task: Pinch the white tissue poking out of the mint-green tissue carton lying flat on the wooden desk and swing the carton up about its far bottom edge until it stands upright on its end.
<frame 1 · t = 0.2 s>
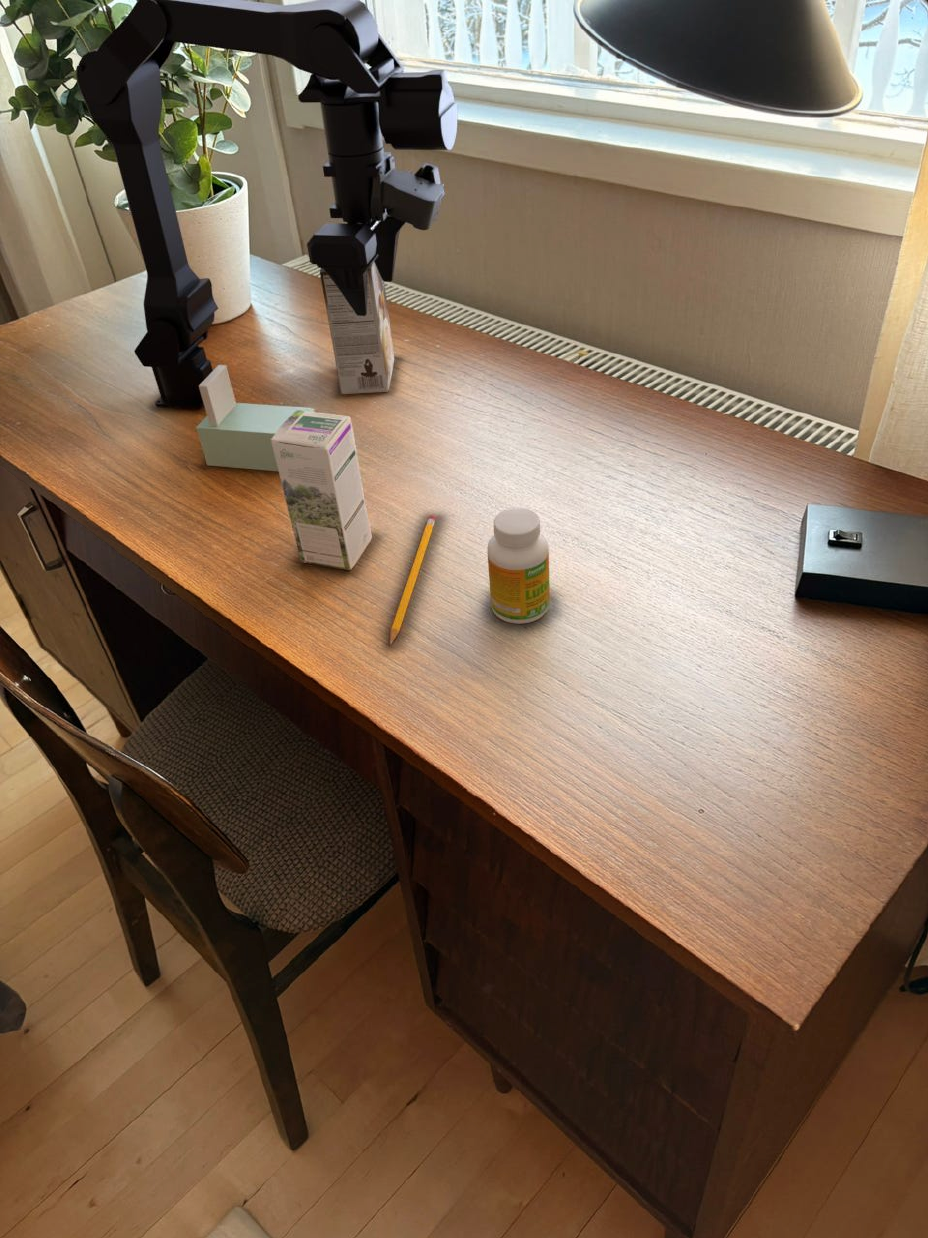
hand: (375, 297, 106), 14 cm above the table, tool pointing down, fingers open, 9 cm apart
coffee box: (368, 378, 123), on the table
pencil: (413, 580, 91), on the table
supplement bottle: (520, 607, 87), on the table
syrup box: (337, 553, 95), on the table
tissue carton: (255, 417, 107), point 5 cm above the table, hinge at 0.0°
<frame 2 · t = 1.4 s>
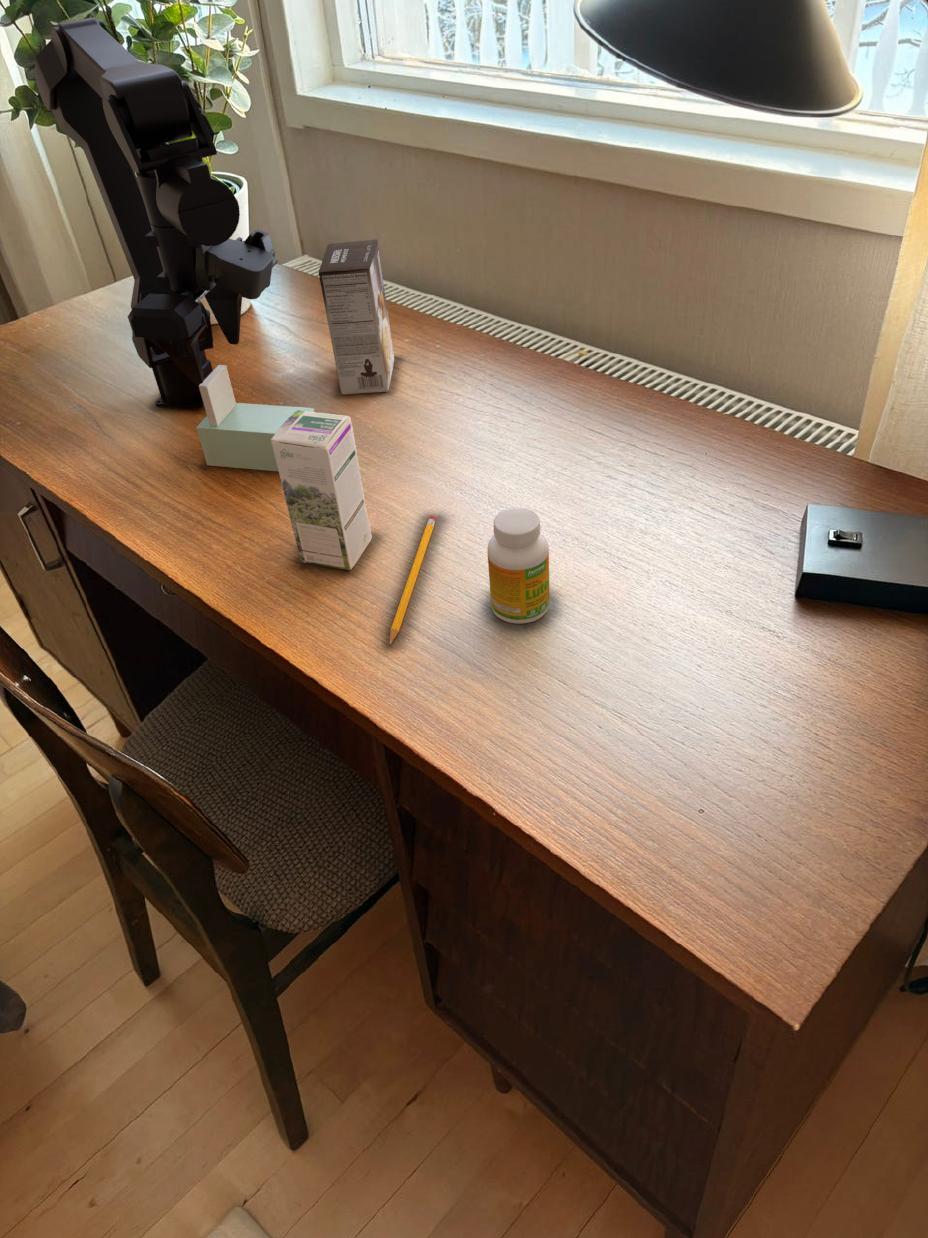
hand: (217, 362, 104), 11 cm above the table, tool pointing down, fingers open, 9 cm apart
nothing on the table moved.
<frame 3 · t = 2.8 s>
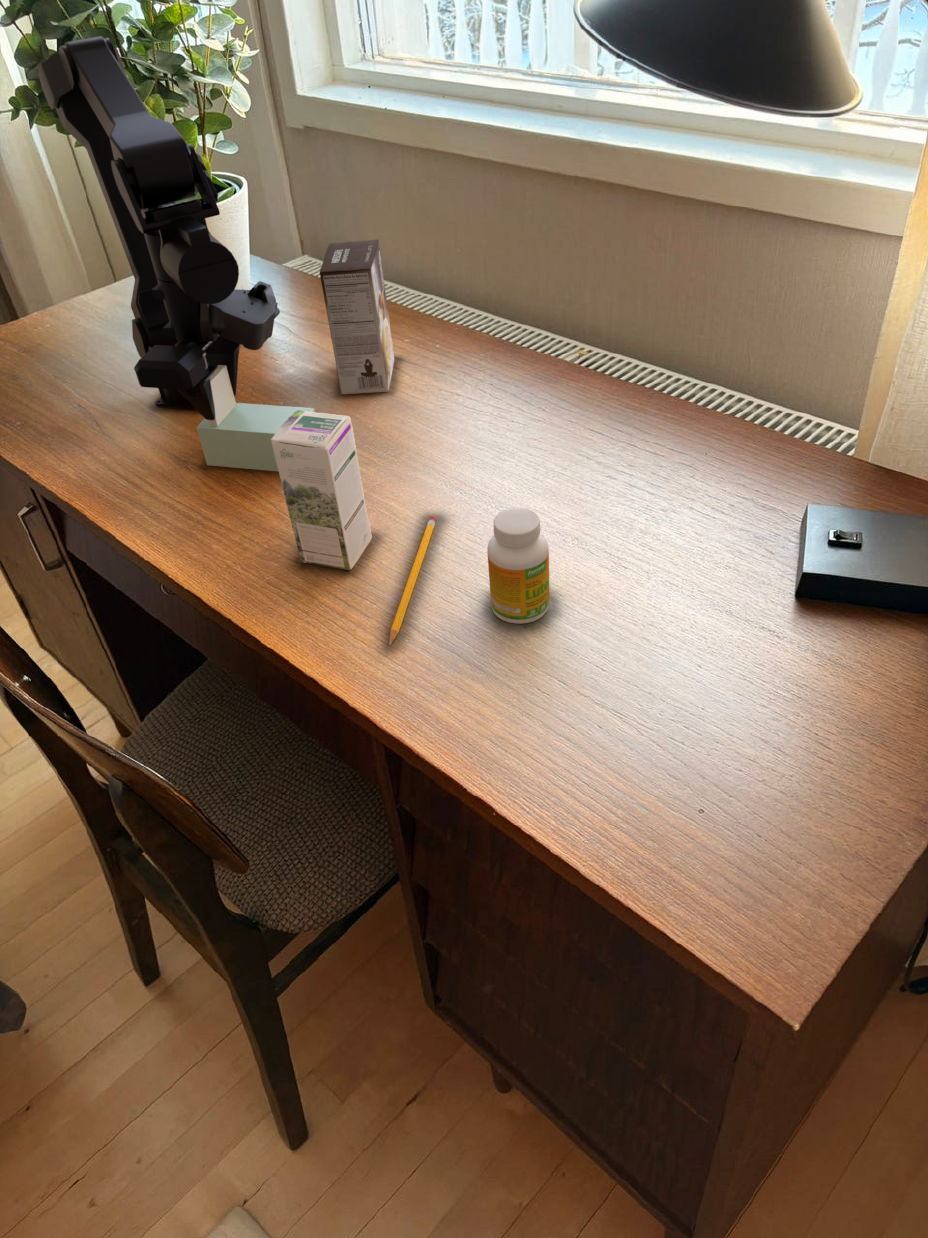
hand: (221, 407, 107), 6 cm above the table, tool pointing down, fingers closed on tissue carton, 5 cm apart
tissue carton: (255, 417, 107), point 5 cm above the table, hinge at 0.0°, touching gripper
everything else where it was.
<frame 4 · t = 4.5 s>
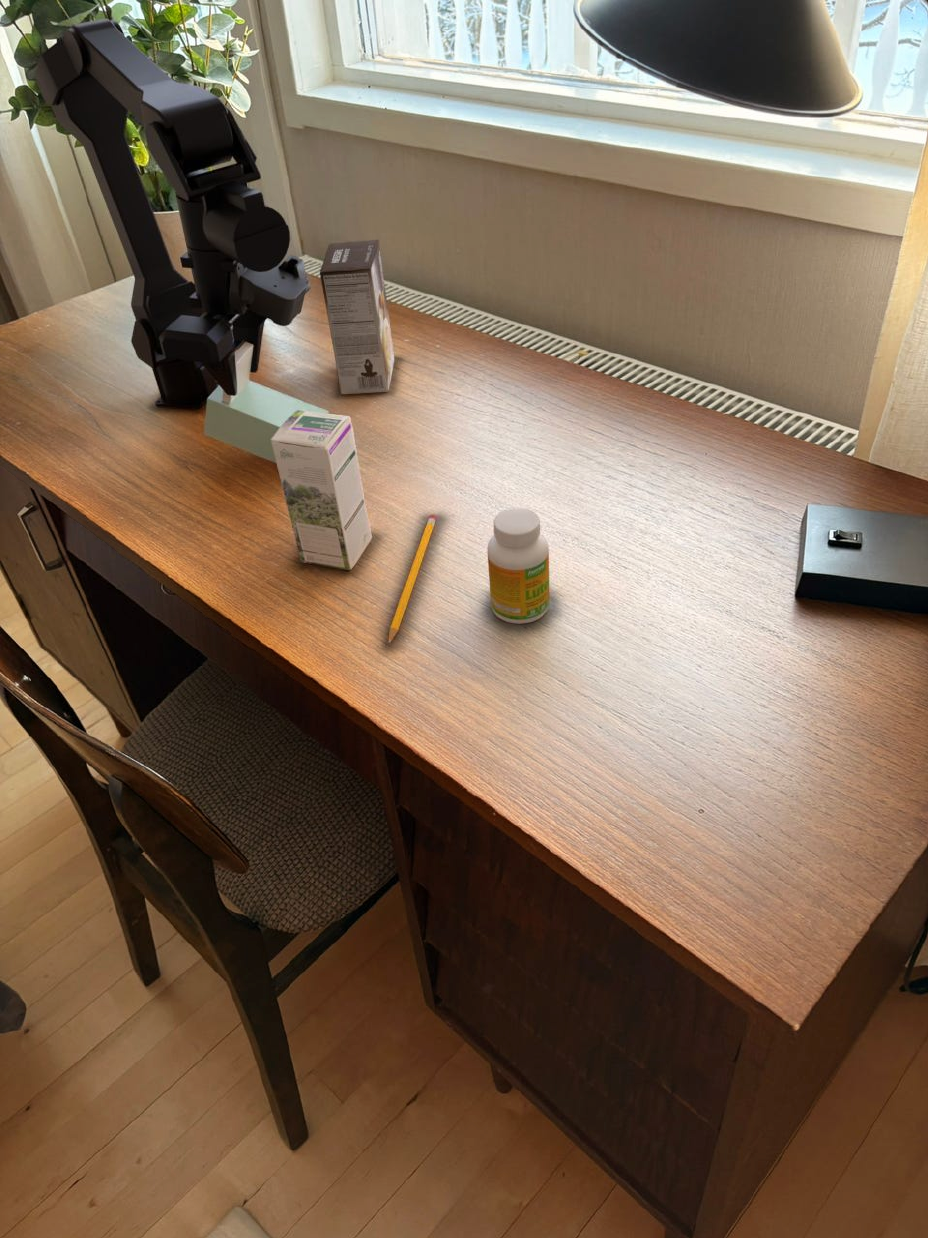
hand: (242, 383, 104), 9 cm above the table, tool pointing down, fingers closed on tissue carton, 5 cm apart
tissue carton: (269, 404, 105), point 7 cm above the table, hinge at 20.2°, touching gripper
everything else where it was.
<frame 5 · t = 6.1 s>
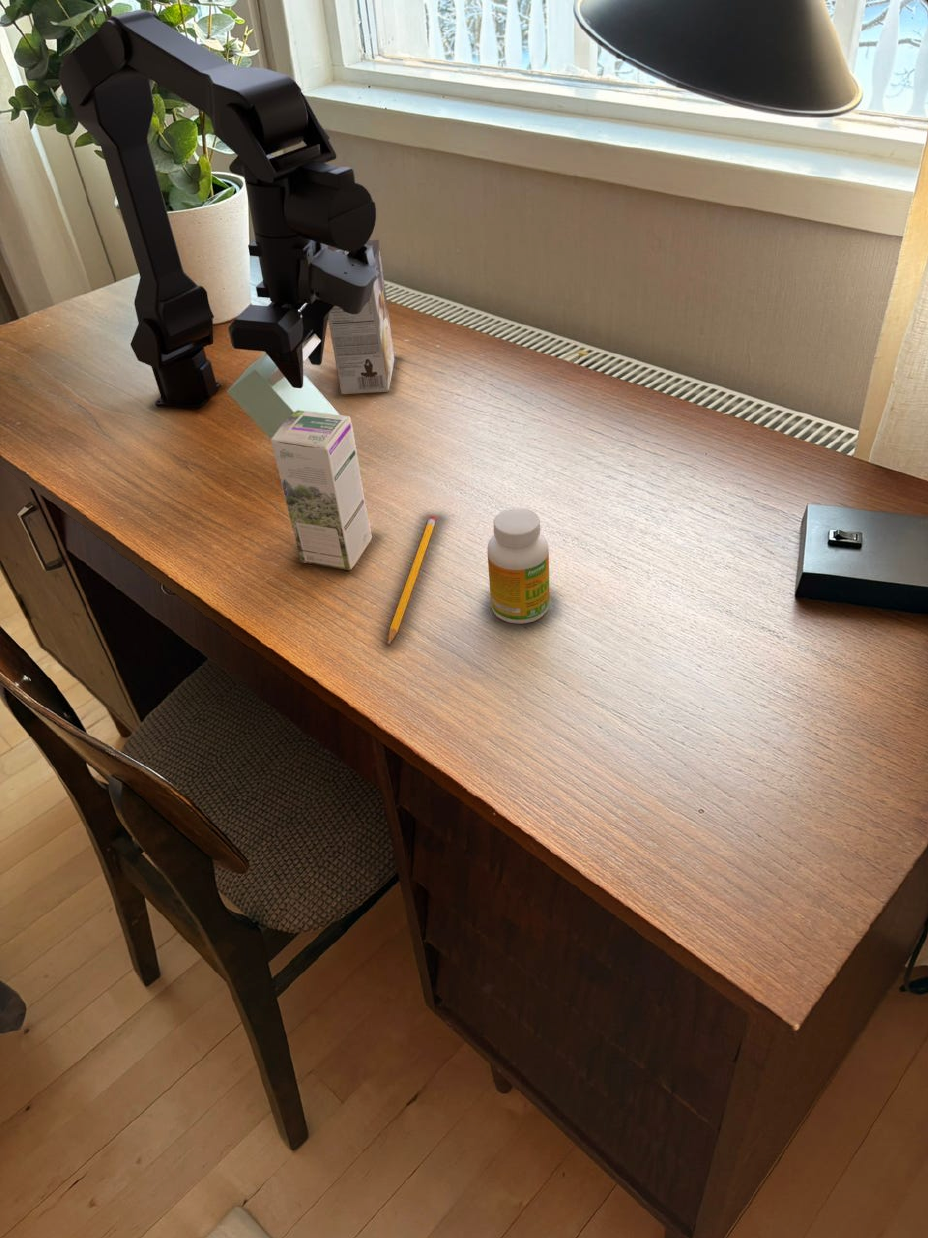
hand: (307, 375, 101), 11 cm above the table, tool pointing down, fingers closed on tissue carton, 5 cm apart
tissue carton: (304, 399, 103), point 8 cm above the table, hinge at 54.7°, touching gripper
everything else where it was.
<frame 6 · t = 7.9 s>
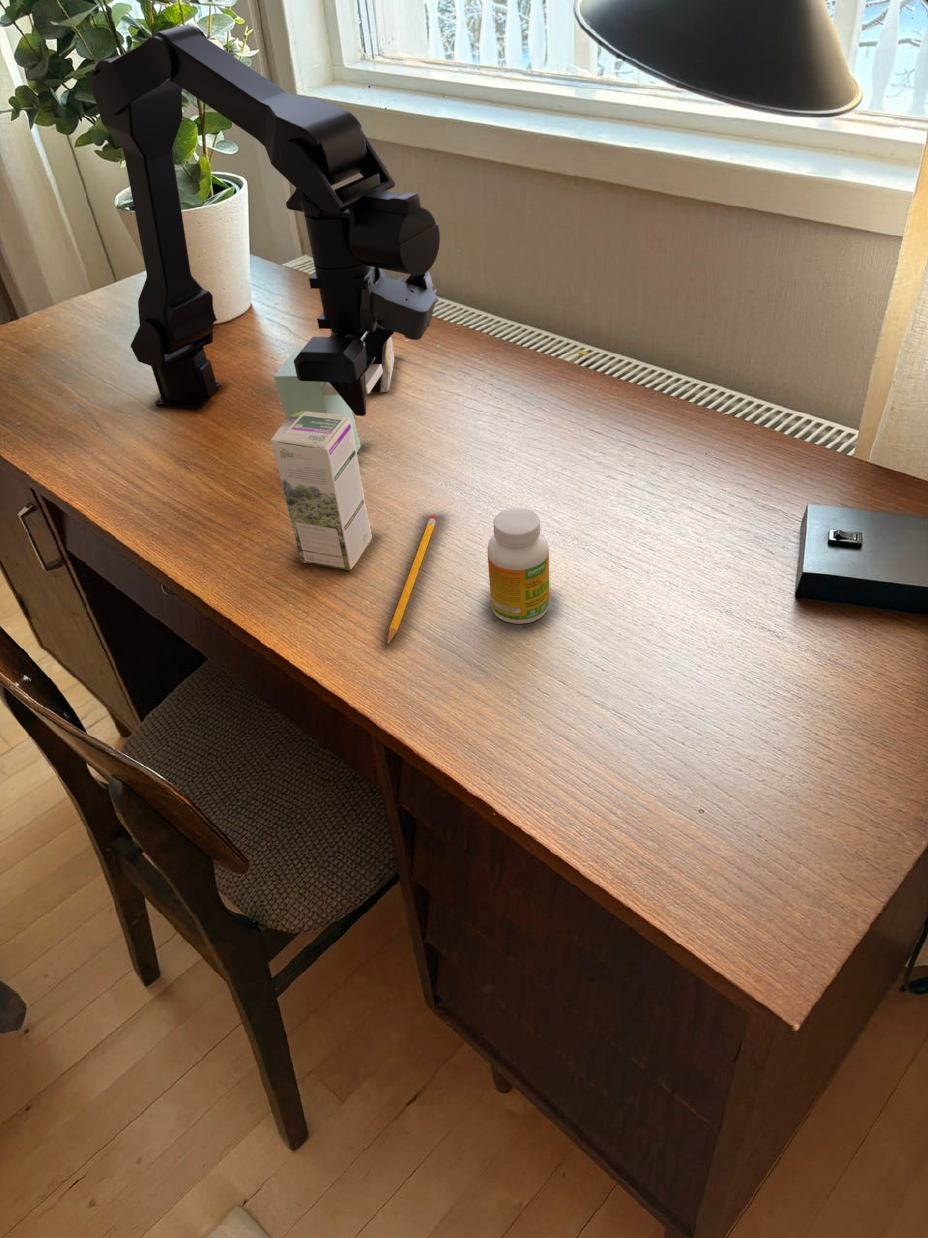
hand: (368, 403, 102), 8 cm above the table, tool pointing down, fingers closed on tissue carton, 5 cm apart
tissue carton: (340, 412, 103), point 6 cm above the table, hinge at 85.6°, touching gripper
everything else where it was.
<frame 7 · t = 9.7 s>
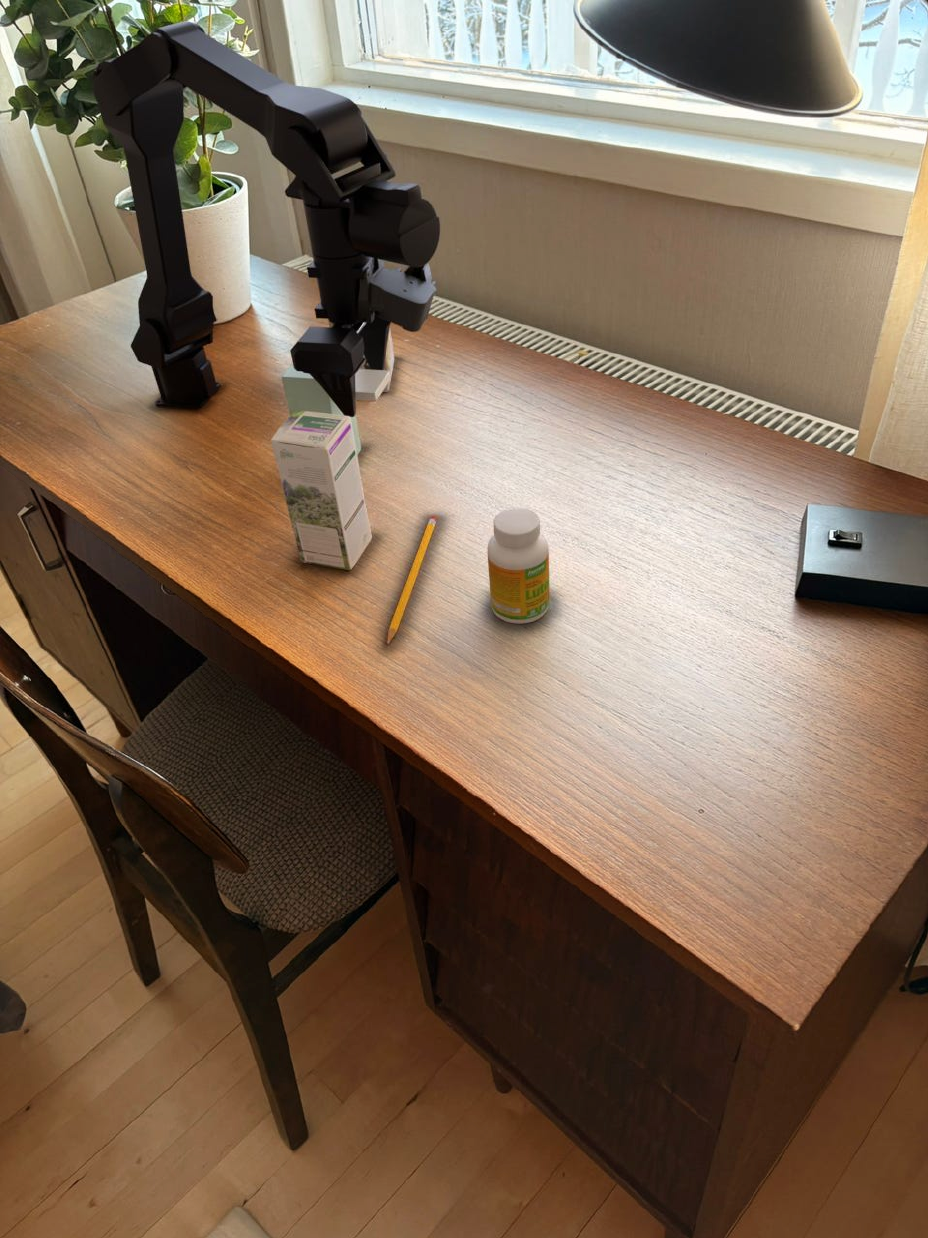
hand: (364, 394, 101), 9 cm above the table, tool pointing down, fingers open, 9 cm apart
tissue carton: (344, 416, 103), point 6 cm above the table, hinge at 90.0°
everything else where it was.
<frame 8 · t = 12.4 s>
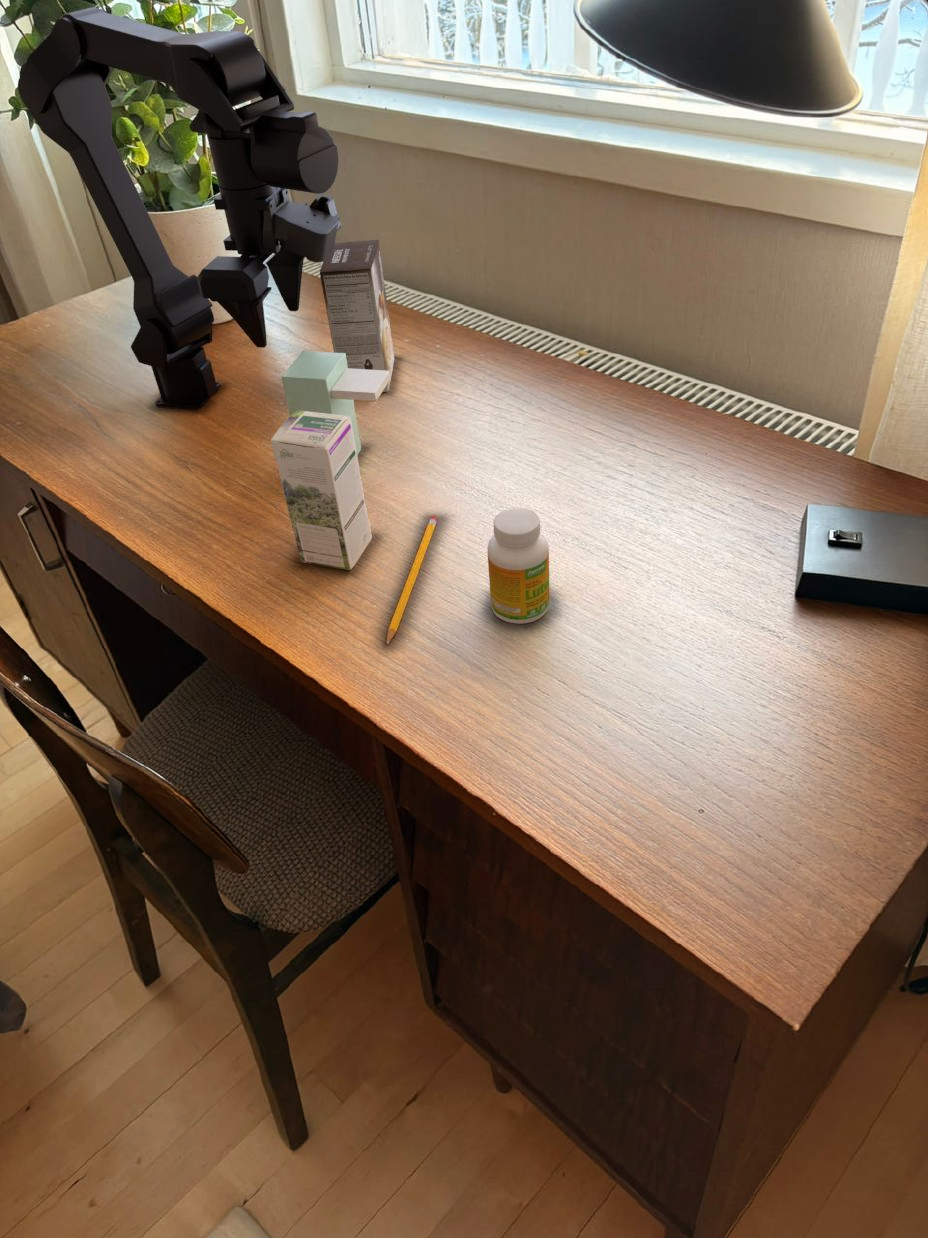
hand: (278, 328, 105), 13 cm above the table, tool pointing down, fingers open, 9 cm apart
nothing on the table moved.
at the end: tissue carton at +90° (first picture: +0°); the gripper is holding nothing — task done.
